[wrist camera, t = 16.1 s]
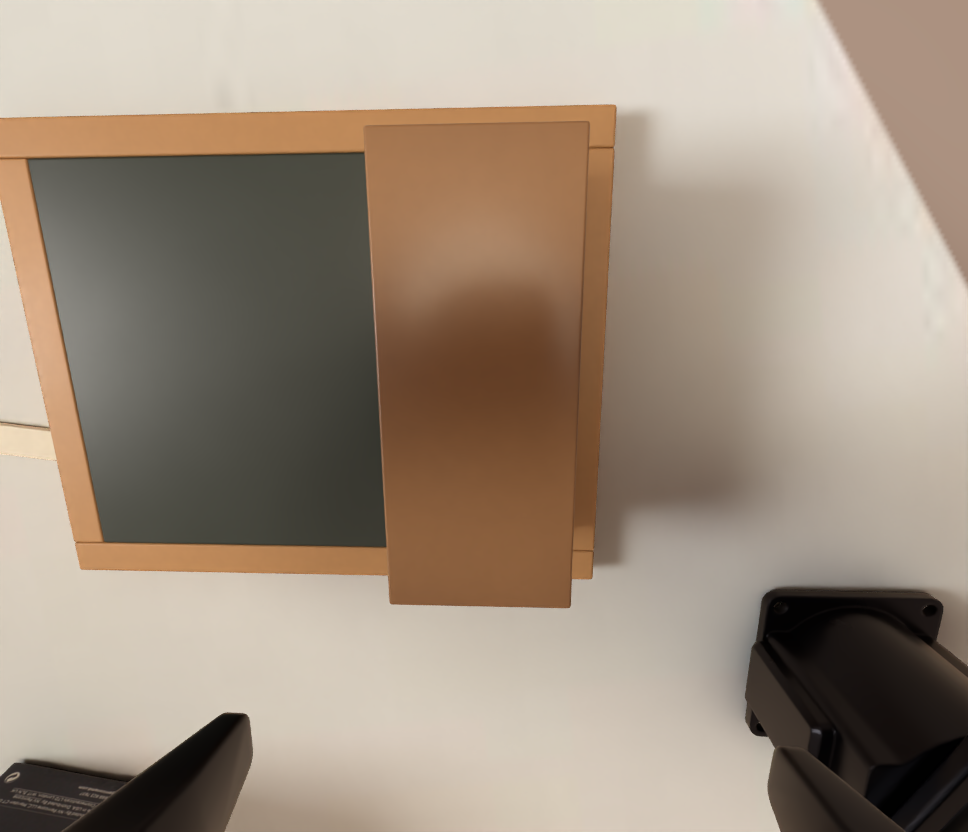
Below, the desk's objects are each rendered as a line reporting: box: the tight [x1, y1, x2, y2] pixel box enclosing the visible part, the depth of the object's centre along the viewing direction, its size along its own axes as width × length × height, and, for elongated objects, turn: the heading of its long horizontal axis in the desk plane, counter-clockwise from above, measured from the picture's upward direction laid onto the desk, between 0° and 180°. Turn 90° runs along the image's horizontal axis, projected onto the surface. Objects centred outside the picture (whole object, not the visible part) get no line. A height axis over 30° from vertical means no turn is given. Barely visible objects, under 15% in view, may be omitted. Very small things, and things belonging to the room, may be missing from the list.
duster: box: [363, 121, 590, 608], centre depth 14 cm, size 12×5×5 cm, turn 0°
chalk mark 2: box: [0, 423, 57, 461], centre depth 19 cm, size 4×1×1 cm, turn 84°
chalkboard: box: [0, 105, 616, 579], centre depth 18 cm, size 20×16×1 cm
